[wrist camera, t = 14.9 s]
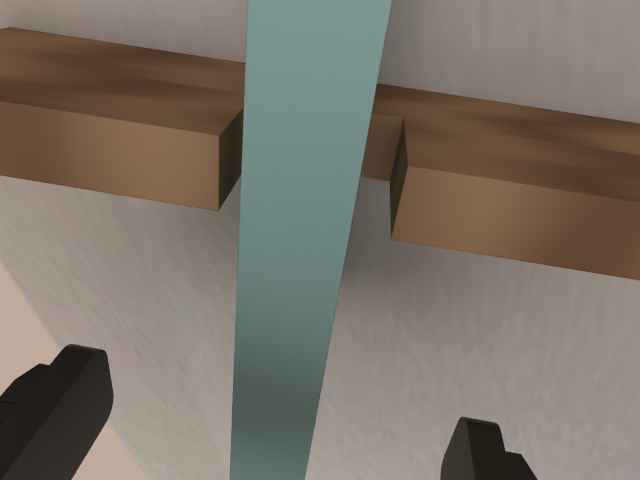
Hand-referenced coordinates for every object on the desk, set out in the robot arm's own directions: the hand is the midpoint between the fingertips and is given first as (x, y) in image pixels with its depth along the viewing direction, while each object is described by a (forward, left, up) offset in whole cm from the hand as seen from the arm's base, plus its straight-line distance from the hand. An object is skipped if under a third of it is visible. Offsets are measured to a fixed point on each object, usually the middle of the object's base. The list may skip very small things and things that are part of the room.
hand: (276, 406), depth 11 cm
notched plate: (0, -3, -10) cm, 11 cm away
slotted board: (0, -4, -10) cm, 11 cm away
